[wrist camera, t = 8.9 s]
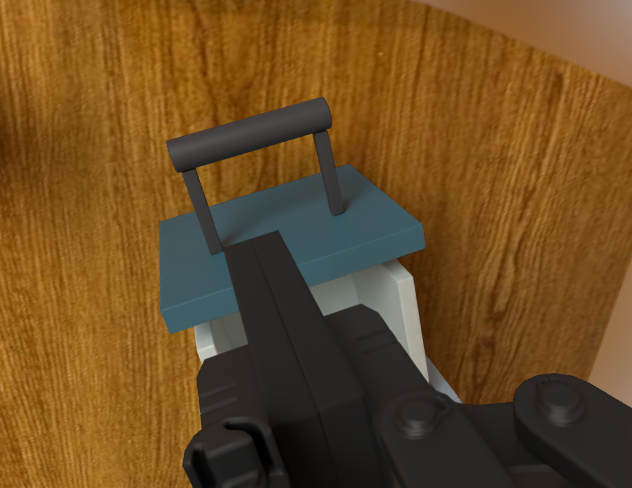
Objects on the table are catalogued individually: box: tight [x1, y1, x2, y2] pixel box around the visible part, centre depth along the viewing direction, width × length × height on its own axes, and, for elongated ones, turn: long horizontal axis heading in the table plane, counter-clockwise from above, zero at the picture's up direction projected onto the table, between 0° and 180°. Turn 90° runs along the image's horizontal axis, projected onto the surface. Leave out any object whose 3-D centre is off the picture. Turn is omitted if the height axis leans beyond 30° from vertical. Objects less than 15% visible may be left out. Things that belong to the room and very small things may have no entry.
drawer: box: [159, 97, 429, 383], centre depth 28 cm, size 19×11×10 cm, turn 13°
